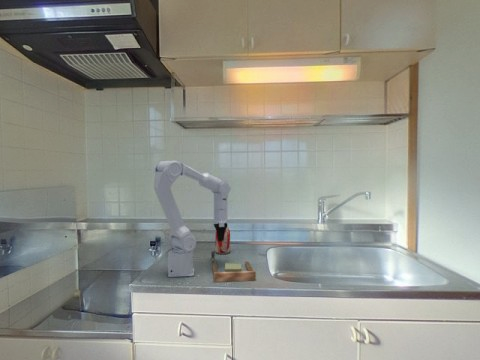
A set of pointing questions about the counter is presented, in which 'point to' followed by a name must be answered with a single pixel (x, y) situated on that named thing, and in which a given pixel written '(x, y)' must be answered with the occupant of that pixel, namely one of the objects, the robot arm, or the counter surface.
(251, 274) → the bay
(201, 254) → the counter surface
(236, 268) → the box
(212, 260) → the crank handle
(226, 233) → the soda can
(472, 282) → the counter surface
